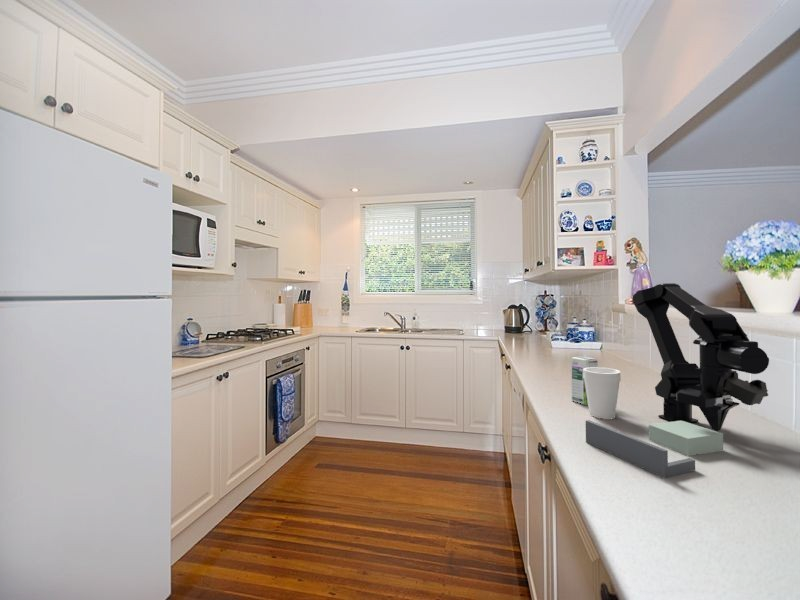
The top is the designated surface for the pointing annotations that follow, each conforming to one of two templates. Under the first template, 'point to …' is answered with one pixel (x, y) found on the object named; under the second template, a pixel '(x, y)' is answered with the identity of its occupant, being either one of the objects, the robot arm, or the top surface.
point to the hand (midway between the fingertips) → (716, 430)
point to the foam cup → (602, 391)
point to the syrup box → (580, 377)
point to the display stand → (636, 451)
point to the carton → (686, 437)
